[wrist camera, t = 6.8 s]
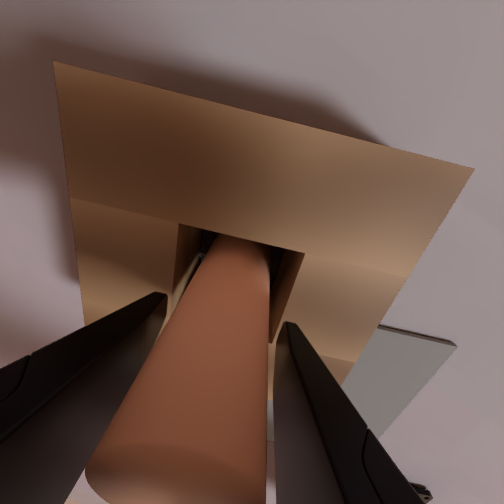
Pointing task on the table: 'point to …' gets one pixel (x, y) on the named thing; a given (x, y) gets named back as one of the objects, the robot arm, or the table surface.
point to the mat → (388, 376)
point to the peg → (198, 394)
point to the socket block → (243, 207)
